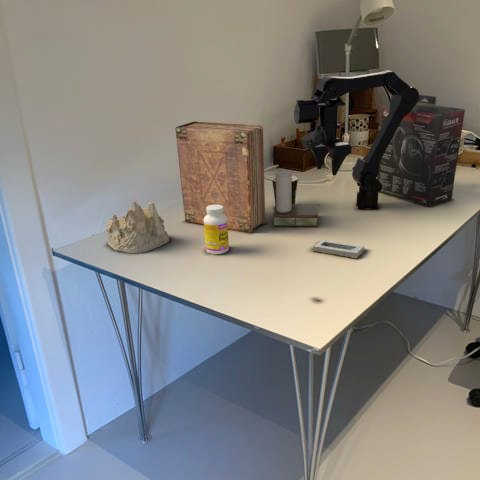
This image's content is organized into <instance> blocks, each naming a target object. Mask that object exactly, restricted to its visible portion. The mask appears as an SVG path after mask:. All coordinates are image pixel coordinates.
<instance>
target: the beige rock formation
mask: <svg viewBox="0 0 480 480" xmlns="http://www.w3.org/2000/svg"><path fill="white" fill-rule="evenodd" d="M164 222H165V220H164V219H163V218H162V217H161V216H160V215H159V214H158V210H157V207H156V204H155V201H154V202H153V201H149V202H148V204H147V207H142V205H140V204H139V203H137V200H134V199H133V200H131V205H130V209H128V210H127V211H126V213H125V215H124V216H122V217H121V216H120V217H117V214H113V213H112V215H111V217H110V218H109V220H108V222H107V224H106V226H105V229H104V230H105V231H106V232H107V236H108V238H109V239H108V240H107V243H108V244H107V245H108V246H109V247H110V248H112V249H113V250H115V251H116V252H117V251H119V252H123V253H129V254H130V253H131V254H141V253H144V252H145V253H146V252H147V253H148V252H150V251H152V250H155V249H157V248H159V247H162V246H164V245H166V244H167V243H169V242H170V236H169V234H168V231H166V228H165V225H164Z"/></svg>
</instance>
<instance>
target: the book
mask: <svg viewBox="0 0 480 480" xmlns="http://www.w3.org/2000/svg"><path fill="white" fill-rule="evenodd" d="M174 130H175V135H176V136H175V138H176V139H175V140H176V147H177V157H178V166H179V176H180V177H179V178H180V186H181V195H182V203H183V204H182V205H183V213H184V215H183V216H184V221H185V222H186V223H190V224H196V225H203V226H204V217H205V216H206V215H207V212H206V207H207V206H209V205H215V204H217V205H222V206H223V214H224V215H225V216H226V217H227V221H228V230H232V231H237V232H243V233H248V234H252V233H253V230H254V229H256V228H257V227H258V226H260V225H265V224H266V198H265V197H266V196H265V195H266V194H265V193H266V191H265V190H266V189H265V158H264V157H265V154H264V153H265V152H264V151H265V150H264V149H265V148H264V146H265V145H264V126H263V125H261V124H244V123H227V122H209V121H191V122H187V123H184V124H181V125H178V126H176V127H175V128H174Z"/></svg>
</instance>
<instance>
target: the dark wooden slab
mask: <svg viewBox="0 0 480 480" xmlns="http://www.w3.org/2000/svg"><path fill="white" fill-rule="evenodd" d="M319 213H320V203H295V204H292V210H291V211H290V212H288V213H279V212H277V210H276V206H274V209H273V212H272V217H273V226H274V227H277V228H280V227H281V228H283V227H284V228H285V227H287V228H291V227H292V228H317V227H318V226H319V225H318V224H319Z"/></svg>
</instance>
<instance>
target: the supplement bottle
mask: <svg viewBox="0 0 480 480" xmlns="http://www.w3.org/2000/svg"><path fill="white" fill-rule="evenodd" d="M206 212H207V215H206V216H205V217H204V225H203V228H204V229H203V230H204V231H203V232H204V244H205V251H206V253H208V254H212V255H222V254H226V253H227V252H228V251H229V249H230V245H229V243H230V241H229V229H228V221H227V217H226V216H225V215H224V214H223V206H222V205H217V204H215V205H209V206H207V207H206Z"/></svg>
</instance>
